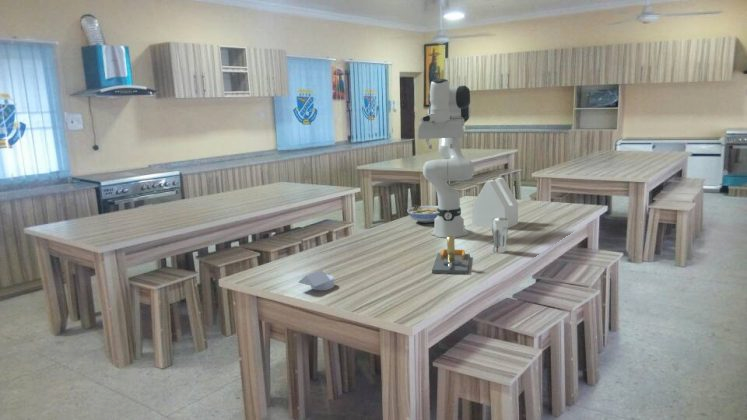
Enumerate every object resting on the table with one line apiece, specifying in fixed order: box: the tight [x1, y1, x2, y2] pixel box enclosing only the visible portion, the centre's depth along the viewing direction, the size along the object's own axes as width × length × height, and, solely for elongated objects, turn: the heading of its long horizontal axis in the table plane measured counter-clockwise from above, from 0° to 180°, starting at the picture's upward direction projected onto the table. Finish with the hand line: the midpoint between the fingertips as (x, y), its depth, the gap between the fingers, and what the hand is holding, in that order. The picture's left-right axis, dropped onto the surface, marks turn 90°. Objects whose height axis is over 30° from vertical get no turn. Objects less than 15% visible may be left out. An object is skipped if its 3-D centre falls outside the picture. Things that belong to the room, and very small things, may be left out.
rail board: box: [431, 249, 471, 275], centre depth 230 cm, size 24×14×4 cm, turn 168°
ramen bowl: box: [406, 203, 438, 224], centre depth 312 cm, size 25×23×8 cm
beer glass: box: [491, 218, 509, 254], centre depth 245 cm, size 7×7×15 cm
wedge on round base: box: [298, 269, 335, 291], centre depth 208 cm, size 9×7×13 cm
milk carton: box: [471, 177, 519, 229], centre depth 297 cm, size 19×15×25 cm
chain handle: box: [443, 236, 459, 269], centre depth 223 cm, size 12×6×11 cm, turn 168°
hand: (441, 148), depth 242 cm, fingers open, 8 cm apart
